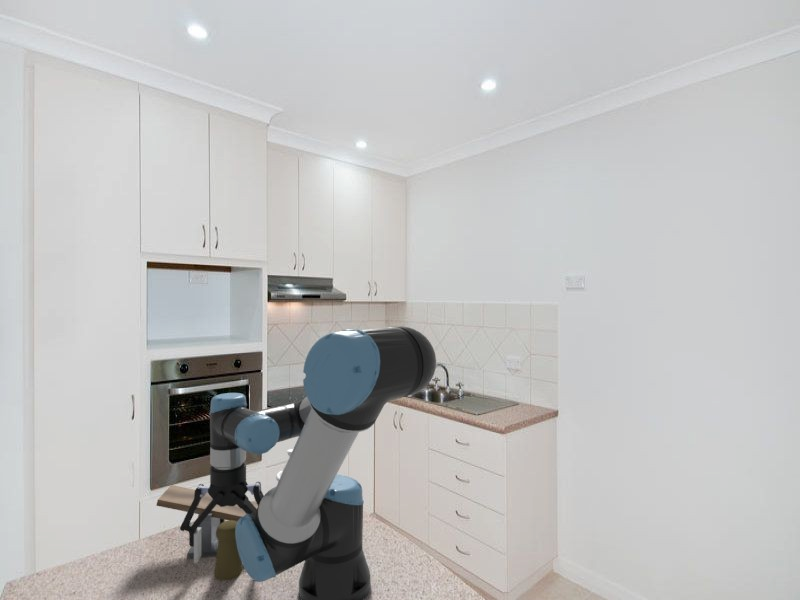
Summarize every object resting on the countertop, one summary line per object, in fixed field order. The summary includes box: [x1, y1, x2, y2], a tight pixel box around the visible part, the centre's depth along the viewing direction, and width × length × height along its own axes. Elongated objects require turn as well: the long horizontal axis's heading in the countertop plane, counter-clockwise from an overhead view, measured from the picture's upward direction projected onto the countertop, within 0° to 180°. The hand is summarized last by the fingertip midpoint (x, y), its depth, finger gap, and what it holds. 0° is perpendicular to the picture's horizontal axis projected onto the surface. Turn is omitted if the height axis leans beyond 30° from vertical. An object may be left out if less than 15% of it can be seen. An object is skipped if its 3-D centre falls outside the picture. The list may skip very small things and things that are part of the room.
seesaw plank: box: [155, 484, 258, 521], centre depth 111 cm, size 9×24×2 cm, turn 97°
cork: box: [213, 520, 244, 581], centre depth 100 cm, size 6×6×11 cm
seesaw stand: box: [186, 514, 226, 559], centre depth 111 cm, size 12×8×10 cm
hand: (228, 557), depth 100 cm, fingers open, 12 cm apart
